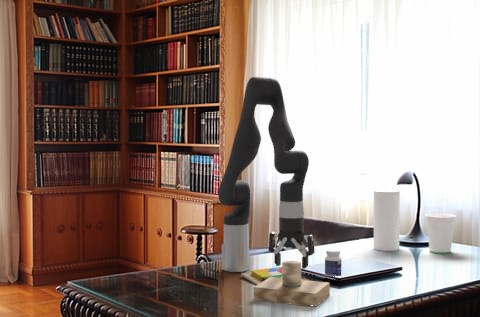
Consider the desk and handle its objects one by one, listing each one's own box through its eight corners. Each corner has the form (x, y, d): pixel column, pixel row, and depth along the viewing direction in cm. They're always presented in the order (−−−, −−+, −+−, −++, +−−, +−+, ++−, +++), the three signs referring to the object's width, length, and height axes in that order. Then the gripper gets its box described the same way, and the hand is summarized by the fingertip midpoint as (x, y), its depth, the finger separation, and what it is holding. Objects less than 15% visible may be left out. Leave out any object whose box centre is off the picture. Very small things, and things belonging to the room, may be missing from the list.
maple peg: (279, 297, 200) (279, 263, 199) (286, 292, 205) (286, 259, 205) (297, 299, 198) (297, 265, 197) (303, 294, 203) (303, 261, 202)
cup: (459, 250, 271) (459, 214, 270) (451, 256, 260) (451, 218, 259) (429, 247, 277) (429, 212, 276) (420, 252, 267) (420, 216, 266)
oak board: (253, 299, 199) (253, 287, 199) (270, 289, 212) (270, 276, 212) (315, 307, 191) (315, 293, 191) (329, 295, 204) (329, 282, 204)
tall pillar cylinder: (401, 250, 272) (402, 191, 270) (376, 251, 272) (376, 191, 270) (396, 245, 282) (396, 188, 281) (371, 246, 282) (371, 189, 281)
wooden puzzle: (265, 291, 212) (264, 280, 212) (239, 278, 229) (239, 269, 228) (310, 284, 219) (310, 274, 219) (282, 273, 236) (282, 263, 236)
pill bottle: (341, 281, 222) (340, 252, 221) (324, 280, 223) (324, 251, 222) (341, 277, 227) (341, 249, 227) (325, 276, 228) (325, 248, 228)
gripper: (265, 215, 200) (265, 267, 201) (309, 218, 194) (309, 271, 195) (274, 212, 206) (274, 262, 207) (317, 214, 200) (316, 266, 202)
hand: (291, 266), depth 201 cm, fingers open, 8 cm apart
